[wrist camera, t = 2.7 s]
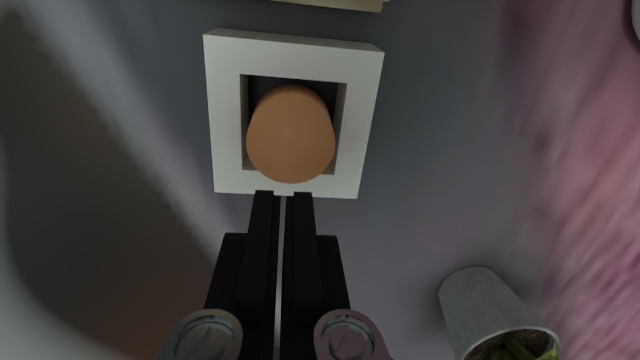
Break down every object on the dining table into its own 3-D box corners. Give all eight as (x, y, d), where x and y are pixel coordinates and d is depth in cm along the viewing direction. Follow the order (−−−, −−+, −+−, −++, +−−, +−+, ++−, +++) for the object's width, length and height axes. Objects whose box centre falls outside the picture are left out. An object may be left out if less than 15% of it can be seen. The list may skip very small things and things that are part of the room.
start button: (333, 87, 16) (340, 105, 14) (324, 158, 18) (330, 185, 16) (253, 80, 16) (245, 98, 13) (253, 153, 18) (246, 181, 15)
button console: (371, 43, 17) (384, 52, 15) (349, 173, 21) (356, 199, 19) (217, 27, 16) (202, 34, 14) (224, 166, 20) (214, 192, 18)
